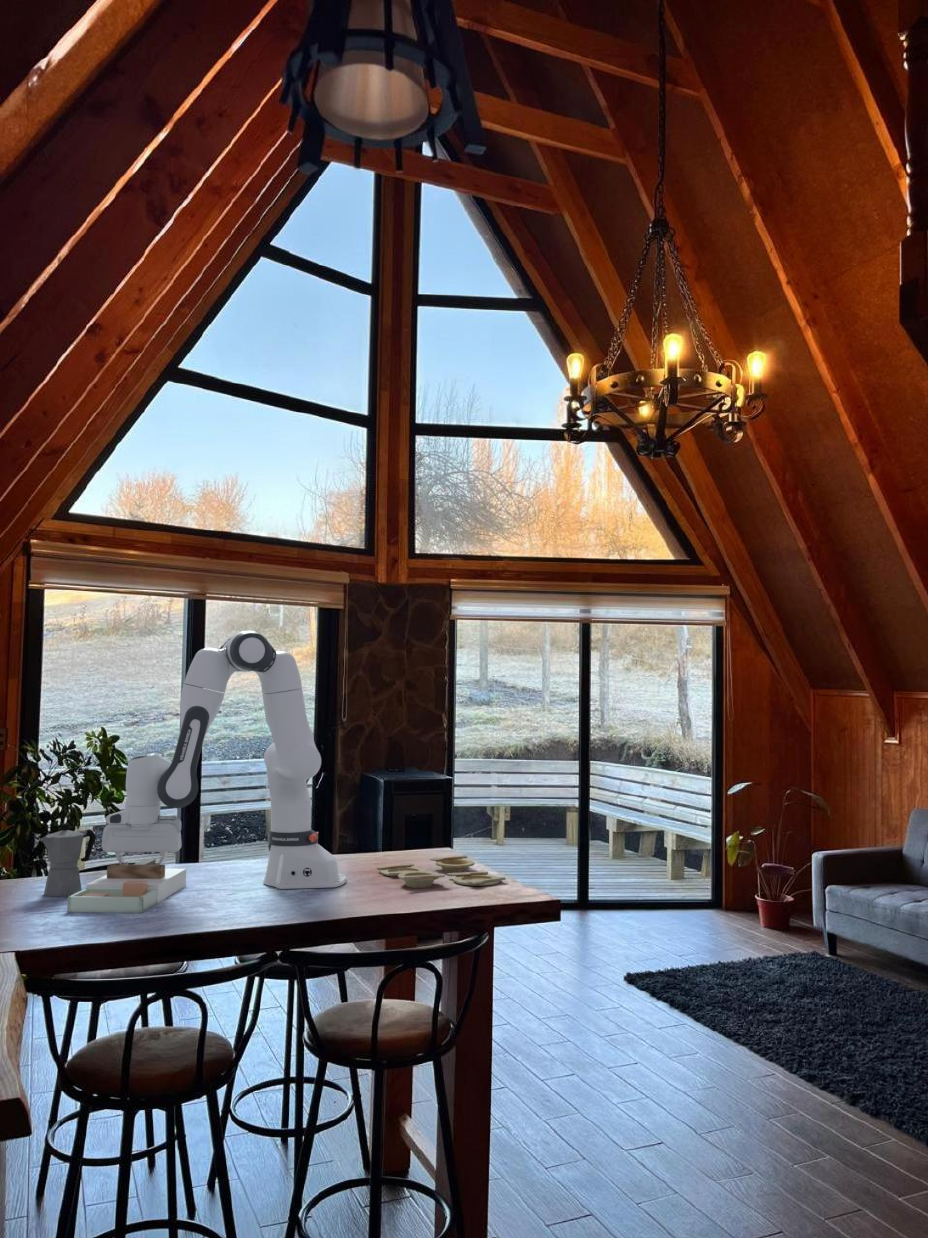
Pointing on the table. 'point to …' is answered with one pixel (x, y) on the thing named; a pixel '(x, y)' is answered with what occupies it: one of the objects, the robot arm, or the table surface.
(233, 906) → the table surface
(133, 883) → the tile
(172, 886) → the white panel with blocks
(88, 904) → the box
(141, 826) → the robot arm
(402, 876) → the tableware set
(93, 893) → the tile
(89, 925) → the table surface
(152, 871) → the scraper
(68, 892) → the coffeepot
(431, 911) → the table surface
